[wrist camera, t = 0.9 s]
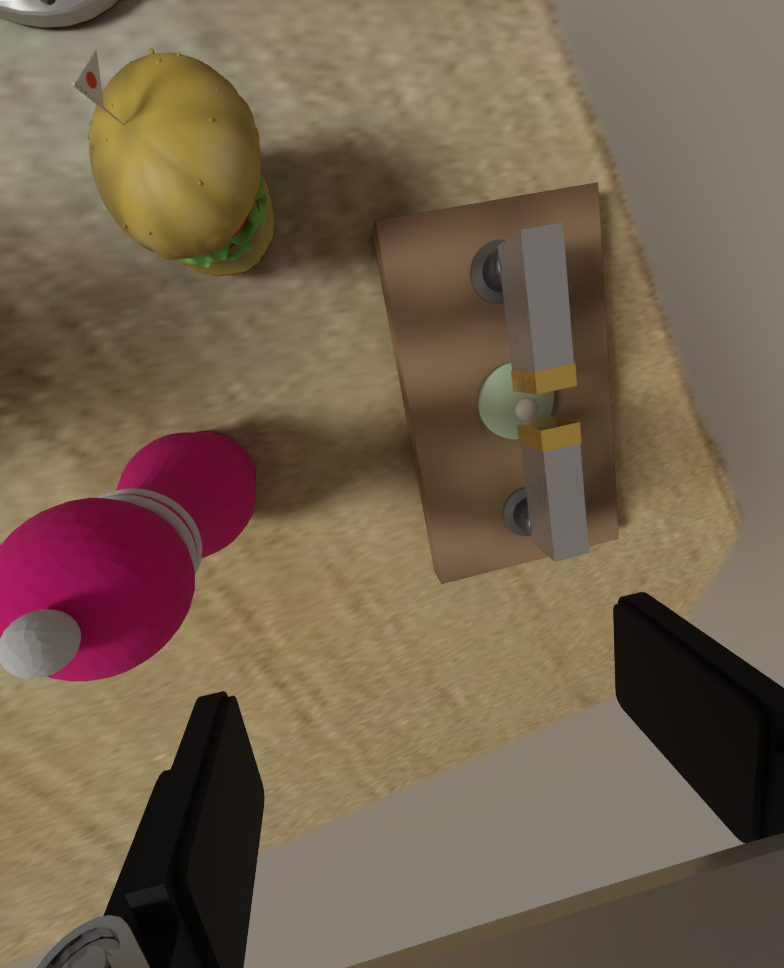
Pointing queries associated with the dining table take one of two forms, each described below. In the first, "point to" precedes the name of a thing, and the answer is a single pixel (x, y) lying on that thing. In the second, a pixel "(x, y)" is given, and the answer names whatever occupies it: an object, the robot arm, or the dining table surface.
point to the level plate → (491, 372)
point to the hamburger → (179, 162)
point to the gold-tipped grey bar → (535, 307)
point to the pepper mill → (120, 560)
